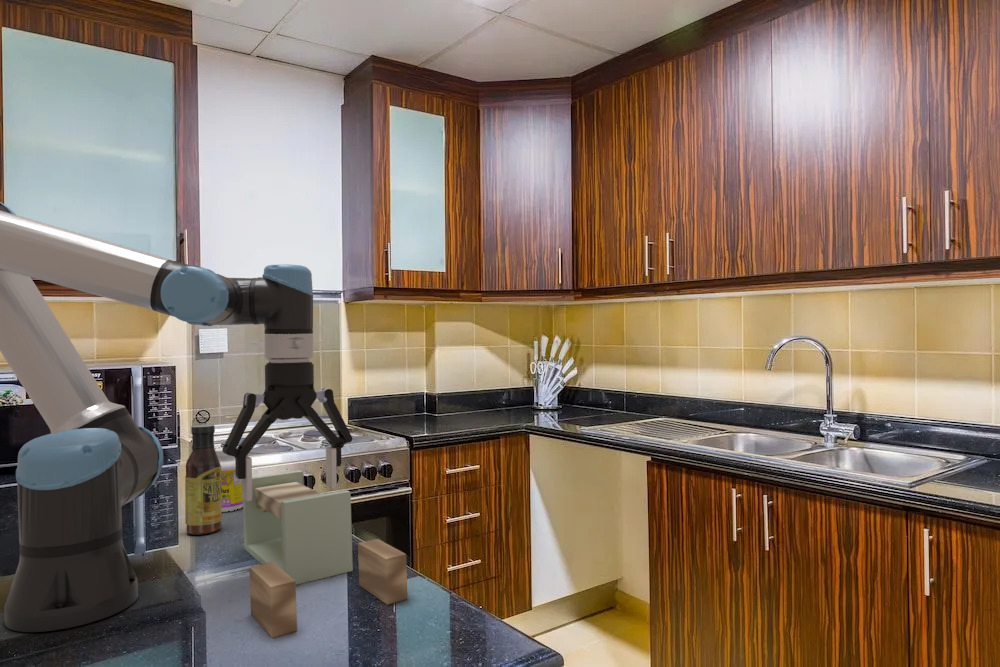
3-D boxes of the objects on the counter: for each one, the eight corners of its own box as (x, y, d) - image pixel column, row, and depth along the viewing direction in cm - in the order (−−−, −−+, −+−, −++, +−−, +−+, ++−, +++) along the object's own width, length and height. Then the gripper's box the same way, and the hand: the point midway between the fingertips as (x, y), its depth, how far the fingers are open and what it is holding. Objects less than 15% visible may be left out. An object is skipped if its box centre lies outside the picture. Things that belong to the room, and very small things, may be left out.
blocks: (271, 637, 78) (270, 587, 78) (250, 613, 86) (249, 567, 86) (407, 598, 89) (406, 554, 89) (378, 580, 96) (377, 538, 96)
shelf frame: (352, 570, 100) (350, 491, 101) (286, 587, 95) (284, 503, 95) (302, 537, 119) (300, 470, 119) (244, 548, 113) (242, 478, 113)
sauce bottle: (208, 536, 121) (205, 428, 121) (178, 535, 122) (175, 428, 122) (229, 526, 127) (227, 423, 127) (201, 525, 128) (198, 423, 129)
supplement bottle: (203, 512, 139) (201, 450, 139) (226, 504, 145) (224, 445, 145) (229, 513, 137) (227, 451, 137) (251, 505, 143) (249, 446, 143)
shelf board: (255, 503, 112) (255, 488, 112) (296, 496, 116) (296, 481, 116) (290, 525, 97) (289, 508, 97) (335, 516, 101) (335, 500, 101)
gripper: (212, 364, 97) (214, 509, 96) (370, 359, 111) (372, 485, 111) (201, 363, 103) (202, 500, 103) (352, 358, 117) (354, 478, 117)
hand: (290, 493), depth 107 cm, fingers open, 13 cm apart
